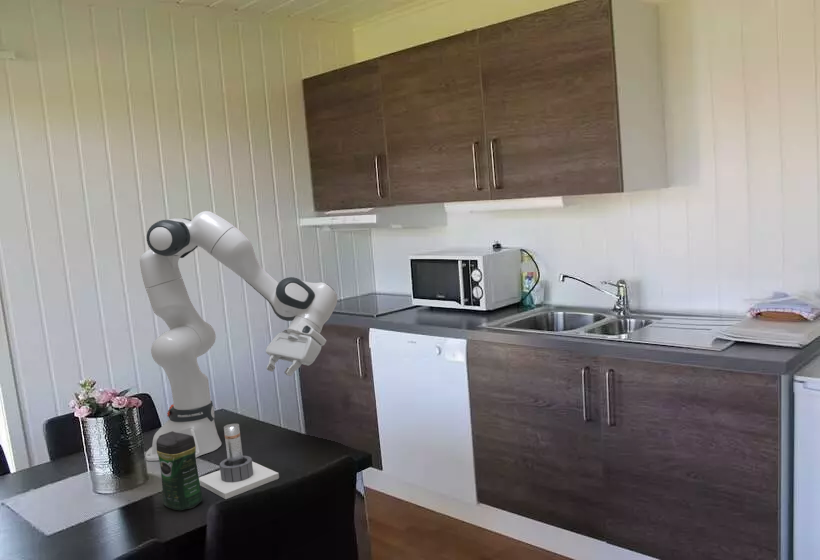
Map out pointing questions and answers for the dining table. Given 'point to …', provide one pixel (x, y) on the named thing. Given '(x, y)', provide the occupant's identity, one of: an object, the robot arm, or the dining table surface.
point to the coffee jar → (179, 470)
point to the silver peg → (233, 444)
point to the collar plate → (237, 486)
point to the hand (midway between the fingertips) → (278, 372)
